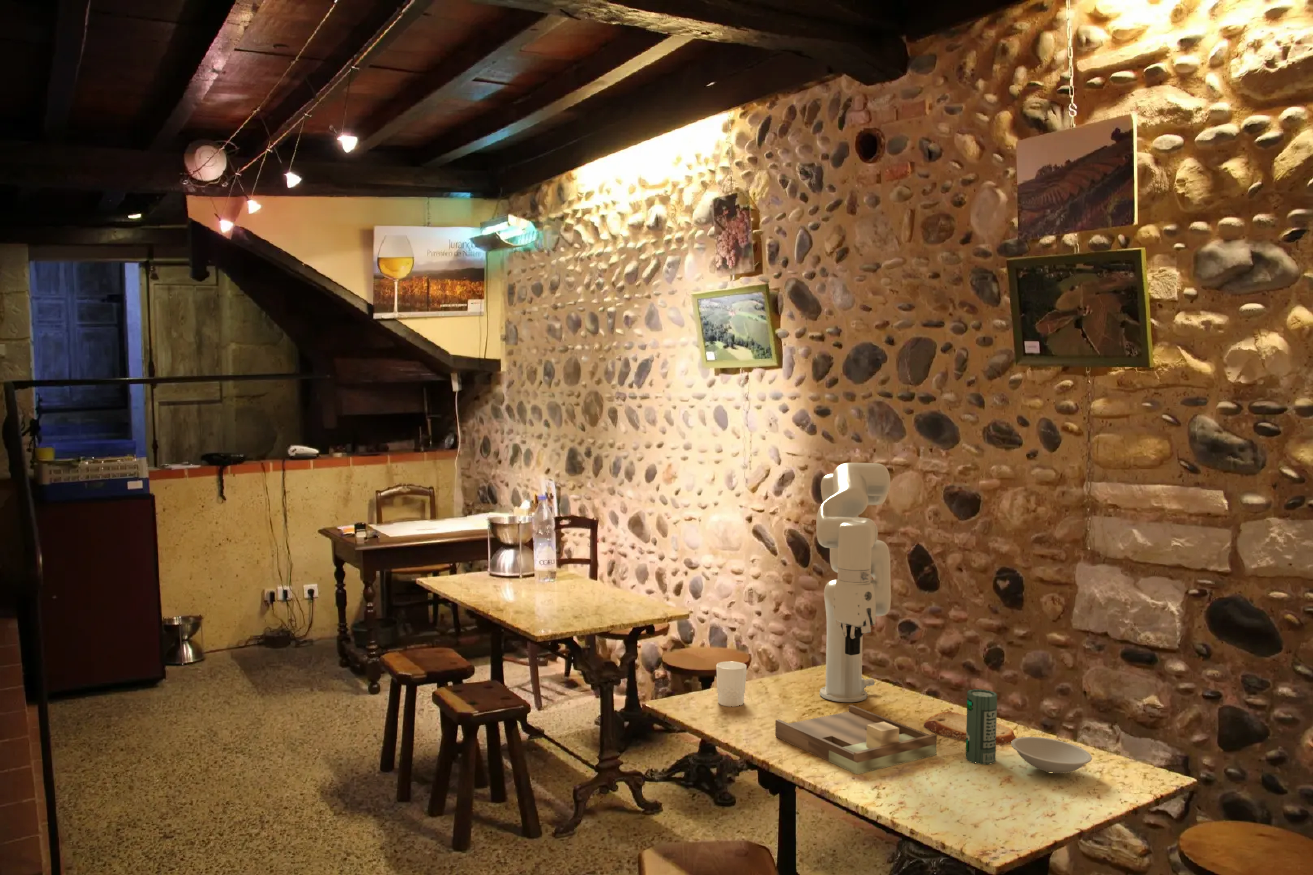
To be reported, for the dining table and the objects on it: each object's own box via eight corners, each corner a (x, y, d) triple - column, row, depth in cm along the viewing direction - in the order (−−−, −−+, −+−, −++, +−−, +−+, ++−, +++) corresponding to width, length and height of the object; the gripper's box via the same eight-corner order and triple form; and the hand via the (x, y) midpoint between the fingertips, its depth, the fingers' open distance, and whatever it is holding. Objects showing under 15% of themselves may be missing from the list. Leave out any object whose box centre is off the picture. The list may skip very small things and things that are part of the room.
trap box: (851, 720, 260) (851, 702, 260) (936, 754, 237) (936, 735, 236) (775, 736, 248) (775, 717, 248) (856, 774, 224) (857, 753, 224)
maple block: (883, 743, 236) (884, 721, 236) (898, 750, 232) (899, 728, 232) (866, 746, 234) (866, 724, 234) (881, 753, 230) (881, 731, 229)
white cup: (710, 700, 276) (711, 662, 276) (736, 697, 279) (737, 660, 279) (724, 708, 269) (725, 670, 268) (751, 705, 272) (752, 667, 272)
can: (979, 752, 238) (980, 687, 238) (1000, 761, 233) (1002, 694, 232) (960, 757, 235) (962, 691, 234) (981, 765, 230) (983, 698, 229)
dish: (994, 764, 231) (995, 742, 231) (1039, 754, 238) (1040, 732, 238) (1061, 792, 215) (1062, 768, 215) (1107, 779, 223) (1107, 756, 222)
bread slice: (1022, 743, 246) (1022, 727, 246) (952, 748, 242) (952, 732, 242) (983, 719, 264) (983, 705, 263) (917, 724, 260) (917, 709, 260)
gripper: (889, 579, 237) (887, 659, 238) (844, 569, 250) (842, 644, 251) (864, 582, 233) (862, 663, 234) (820, 571, 246) (818, 648, 247)
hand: (852, 653), depth 243 cm, fingers closed
